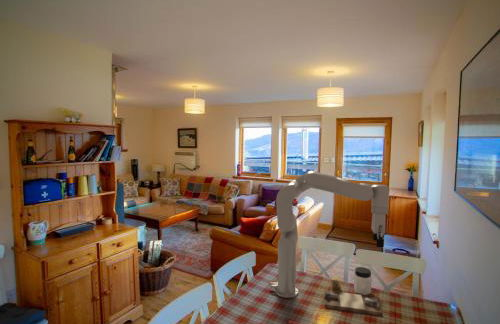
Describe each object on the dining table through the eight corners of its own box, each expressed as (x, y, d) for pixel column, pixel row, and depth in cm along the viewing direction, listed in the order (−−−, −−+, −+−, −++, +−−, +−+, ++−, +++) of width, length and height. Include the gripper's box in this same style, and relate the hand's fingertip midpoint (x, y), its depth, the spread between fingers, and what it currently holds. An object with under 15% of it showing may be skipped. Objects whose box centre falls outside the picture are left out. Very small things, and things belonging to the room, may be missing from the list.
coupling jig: (324, 307, 142) (324, 298, 141) (324, 293, 155) (324, 285, 155) (381, 315, 135) (382, 306, 135) (376, 300, 149) (376, 292, 148)
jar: (362, 296, 152) (363, 274, 152) (350, 289, 160) (351, 268, 159) (374, 293, 156) (374, 271, 156) (362, 286, 163) (363, 265, 163)
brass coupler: (331, 292, 156) (332, 280, 156) (331, 287, 162) (331, 275, 162) (340, 293, 155) (340, 281, 154) (339, 288, 161) (340, 276, 161)
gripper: (368, 205, 152) (367, 237, 153) (374, 213, 135) (372, 248, 136) (384, 206, 150) (382, 239, 151) (391, 214, 133) (390, 250, 134)
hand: (378, 243), depth 143 cm, fingers open, 9 cm apart
